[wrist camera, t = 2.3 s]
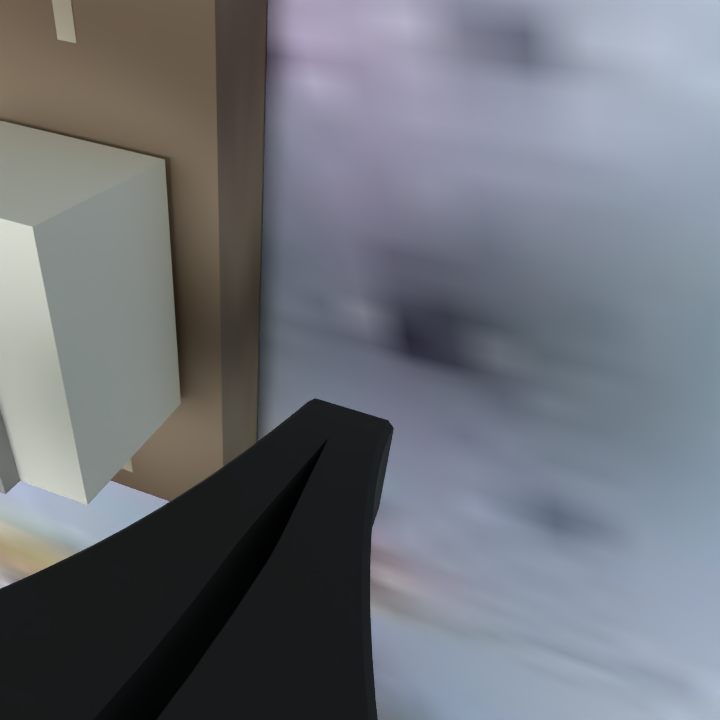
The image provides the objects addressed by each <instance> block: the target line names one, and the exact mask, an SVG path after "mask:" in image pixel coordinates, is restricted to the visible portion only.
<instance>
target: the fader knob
mask: <svg viewBox="0 0 720 720" xmlns="http://www.w3.org/2000/svg"><path fill="white" fill-rule="evenodd" d="M180 404H181V398H180V383H179V368H178V352H177V337H176V322H175V307H174V291H173V276H172V261H171V246H170V230H169V215H168V200H167V185H166V169H165V159H161V158H157V157H152V156H148V155H144V154H140V153H135V152H131V151H127V150H123V149H118V148H114V147H110V146H106V145H102V144H97V143H93V142H89V141H85V140H80V139H76V138H72V137H68V136H63V135H59V134H55V133H51V132H47V131H42V130H38V129H34V128H30V127H25V126H21V125H17V124H13V123H8V122H4V121H0V492H1V493H4V494H6V493H7V492H8V491H9V490H11V489H12V488H13V487H14V486H15V485H16V484H17V483H18V482H19V481H23V482H25V483H28V484H31V485H34V486H36V487H39V488H42V489H45V490H47V491H50V492H53V493H55V494H58V495H61V496H64V497H66V498H69V499H72V500H75V501H77V502H80V503H83V504H86V505H88V504H89V503H90V502H91V501H92V500H93V499H94V497H95V496H96V495H97V494H98V493H99V492H100V491H101V490H102V489H103V488H104V487H105V486H106V484H107V483H108V482H109V481H110V480H111V479H112V478H113V477H114V476H115V475H116V474H117V472H118V471H119V470H120V469H121V468H122V467H123V466H124V465H125V464H126V463H127V462H128V461H129V459H130V458H131V457H132V456H133V455H134V454H135V453H136V452H137V451H138V450H139V449H140V448H141V446H142V445H143V444H144V443H145V442H146V441H147V440H148V439H149V438H150V437H151V436H152V434H153V433H154V432H155V431H156V430H157V429H158V428H159V427H160V426H161V425H162V424H163V423H164V421H165V420H166V419H167V418H168V417H169V416H170V415H171V414H172V413H173V412H174V411H175V410H176V408H177V407H178V406H179V405H180Z"/></svg>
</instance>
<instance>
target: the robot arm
mask: <svg viewBox="0 0 720 720" xmlns="http://www.w3.org/2000/svg"><path fill="white" fill-rule="evenodd" d="M393 429H394V428H393V427H392V425H391V424H390V423H389V421H388V420H385V419H382V418H378V417H375V416H372V415H368V414H365V413H362V412H359V411H355V410H352V409H349V408H345V407H342V406H339V405H335V404H332V403H329V402H326V401H322V400H319V399H316V398H315V399H313V400H311V401H309V402H307V403H306V404H305V405H304V406H302V407H301V408H300V409H299V410H298V411H296V412H295V413H294V414H293V415H291V416H290V417H289V418H288V419H286V420H285V421H284V422H283V423H281V424H280V425H279V426H277V427H276V428H275V429H274V430H272V431H271V432H270V433H268V434H267V435H266V436H264V437H263V438H262V439H261V440H259V441H258V442H257V443H255V444H254V445H253V446H251V447H250V448H249V449H247V450H246V451H244V452H243V453H242V454H240V455H239V456H237V457H236V458H235V459H233V460H232V461H230V462H229V463H228V464H226V465H225V466H223V467H222V468H221V469H219V470H218V471H216V472H215V473H213V474H212V475H211V476H209V477H208V478H206V479H205V480H203V481H201V482H200V483H198V484H197V485H195V486H194V487H192V488H191V489H189V490H187V491H186V492H184V493H183V494H181V495H180V496H178V497H176V498H175V499H173V500H172V501H170V502H169V503H167V504H166V505H164V506H162V507H161V508H159V509H157V510H156V511H154V512H152V513H151V514H149V515H147V516H146V517H144V518H142V519H140V520H139V521H137V522H135V523H133V524H132V525H130V526H128V527H126V528H125V529H123V530H121V531H119V532H117V533H115V534H113V535H112V536H110V537H108V538H106V539H104V540H102V541H100V542H98V543H97V544H95V545H93V546H91V547H89V548H87V549H85V550H83V551H81V552H79V553H76V554H74V555H72V556H70V557H68V558H66V559H64V560H62V561H60V562H58V563H56V564H54V565H52V566H50V567H48V568H46V569H44V570H41V571H39V572H37V573H35V574H33V575H30V576H28V577H26V578H24V579H22V580H19V581H17V582H15V583H12V584H10V585H8V586H6V587H3V588H1V589H0V720H378V718H377V709H376V700H375V687H374V674H373V660H372V641H371V619H370V554H371V534H372V527H373V524H374V520H375V517H376V514H377V511H378V508H379V504H380V499H381V493H382V488H383V483H384V477H385V472H386V466H387V461H388V456H389V450H390V445H391V440H392V434H393Z"/></svg>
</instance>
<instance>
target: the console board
mask: <svg viewBox="0 0 720 720" xmlns="http://www.w3.org/2000/svg"><path fill="white" fill-rule="evenodd" d="M266 21H267V0H0V121H4V122H8V123H13V124H17V125H21V126H25V127H30V128H34V129H38V130H42V131H47V132H51V133H55V134H59V135H63V136H68V137H72V138H76V139H80V140H85V141H89V142H93V143H97V144H102V145H106V146H110V147H114V148H118V149H123V150H127V151H131V152H135V153H140V154H144V155H148V156H152V157H157V158H161V159H165V169H166V185H167V200H168V215H169V230H170V246H171V261H172V276H173V291H174V307H175V322H176V337H177V352H178V368H179V383H180V398H181V404H180V405H179V406H178V407H177V408H176V410H175V411H174V412H173V413H172V414H171V415H170V416H169V417H168V418H167V419H166V420H165V421H164V423H163V424H162V425H161V426H160V427H159V428H158V429H157V430H156V431H155V432H154V433H153V434H152V436H151V437H150V438H149V439H148V440H147V441H146V442H145V443H144V444H143V445H142V446H141V448H140V449H139V450H138V451H137V452H136V453H135V454H134V455H133V456H132V457H131V458H130V459H129V461H128V462H127V463H126V464H125V465H124V466H123V467H122V468H121V469H120V470H119V471H118V472H117V474H116V475H115V476H114V477H113V478H112V479H111V481H114V482H117V483H119V484H122V485H125V486H128V487H131V488H134V489H136V490H139V491H142V492H145V493H148V494H151V495H154V496H156V497H159V498H162V499H165V500H168V501H172V500H173V499H175V498H176V497H178V496H180V495H181V494H183V493H184V492H186V491H187V490H189V489H191V488H192V487H194V486H195V485H197V484H198V483H200V482H201V481H203V480H205V479H206V478H208V477H209V476H211V475H212V474H213V473H215V472H216V471H218V470H219V469H221V468H222V467H223V466H225V465H226V464H228V463H229V462H230V461H232V460H233V459H235V458H236V457H237V456H239V455H240V454H242V453H243V452H244V451H246V450H247V449H249V448H250V447H251V446H253V445H254V444H255V443H257V402H258V359H259V317H260V275H261V232H262V190H263V148H264V105H265V63H266Z"/></svg>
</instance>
